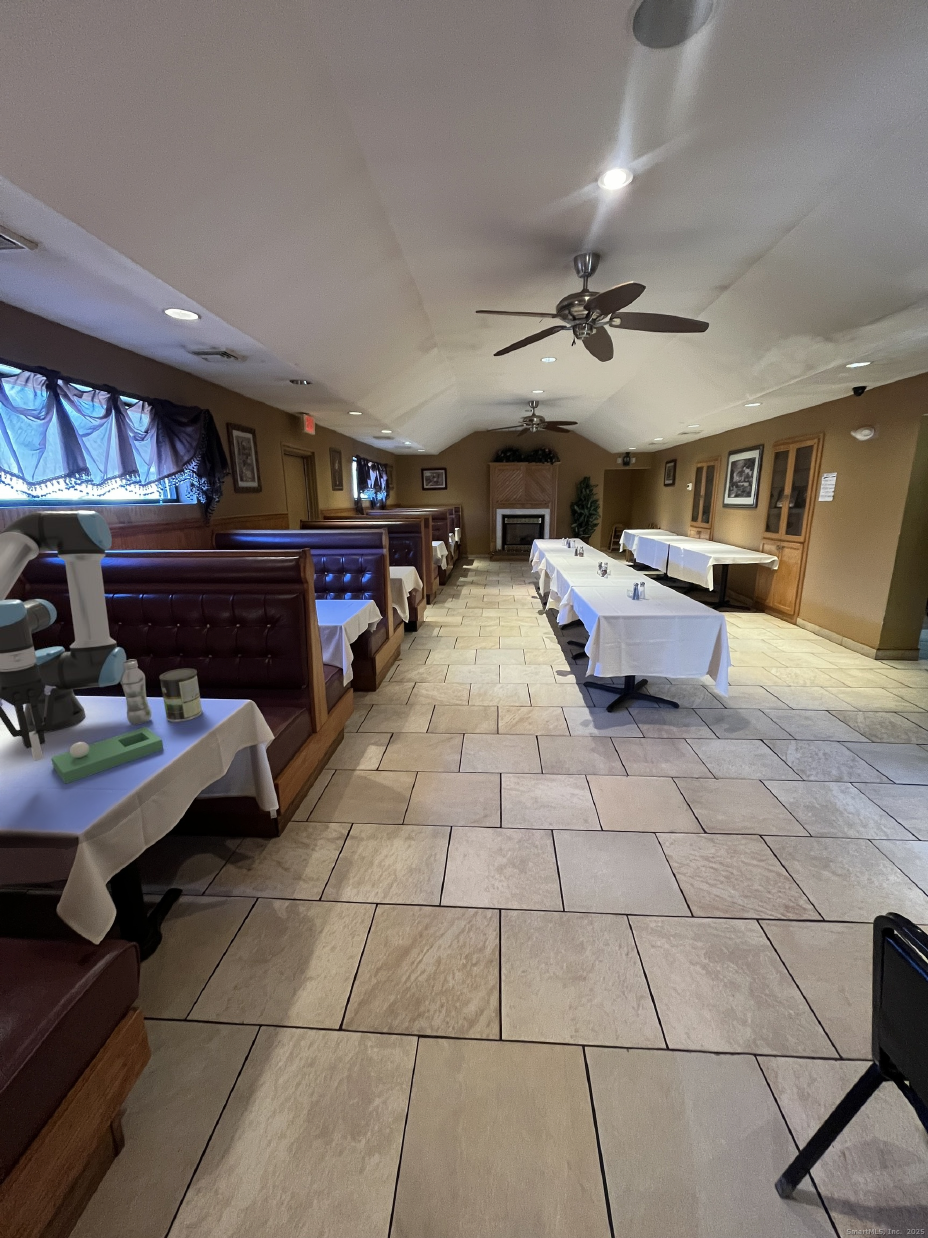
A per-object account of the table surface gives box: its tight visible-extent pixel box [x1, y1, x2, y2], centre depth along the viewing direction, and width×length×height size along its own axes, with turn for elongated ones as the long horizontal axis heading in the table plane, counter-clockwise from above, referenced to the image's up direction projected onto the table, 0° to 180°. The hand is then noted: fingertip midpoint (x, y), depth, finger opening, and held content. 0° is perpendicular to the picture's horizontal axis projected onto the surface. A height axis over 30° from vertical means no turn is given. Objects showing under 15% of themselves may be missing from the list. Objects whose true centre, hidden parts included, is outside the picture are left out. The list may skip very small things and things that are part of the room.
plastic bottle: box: [120, 659, 152, 725], centre depth 152 cm, size 6×7×20 cm
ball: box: [69, 741, 89, 758], centre depth 128 cm, size 4×4×4 cm
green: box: [50, 726, 164, 785], centre depth 133 cm, size 12×22×3 cm, turn 140°
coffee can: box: [158, 667, 203, 723], centre depth 158 cm, size 10×10×14 cm
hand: (38, 757), depth 121 cm, fingers closed
